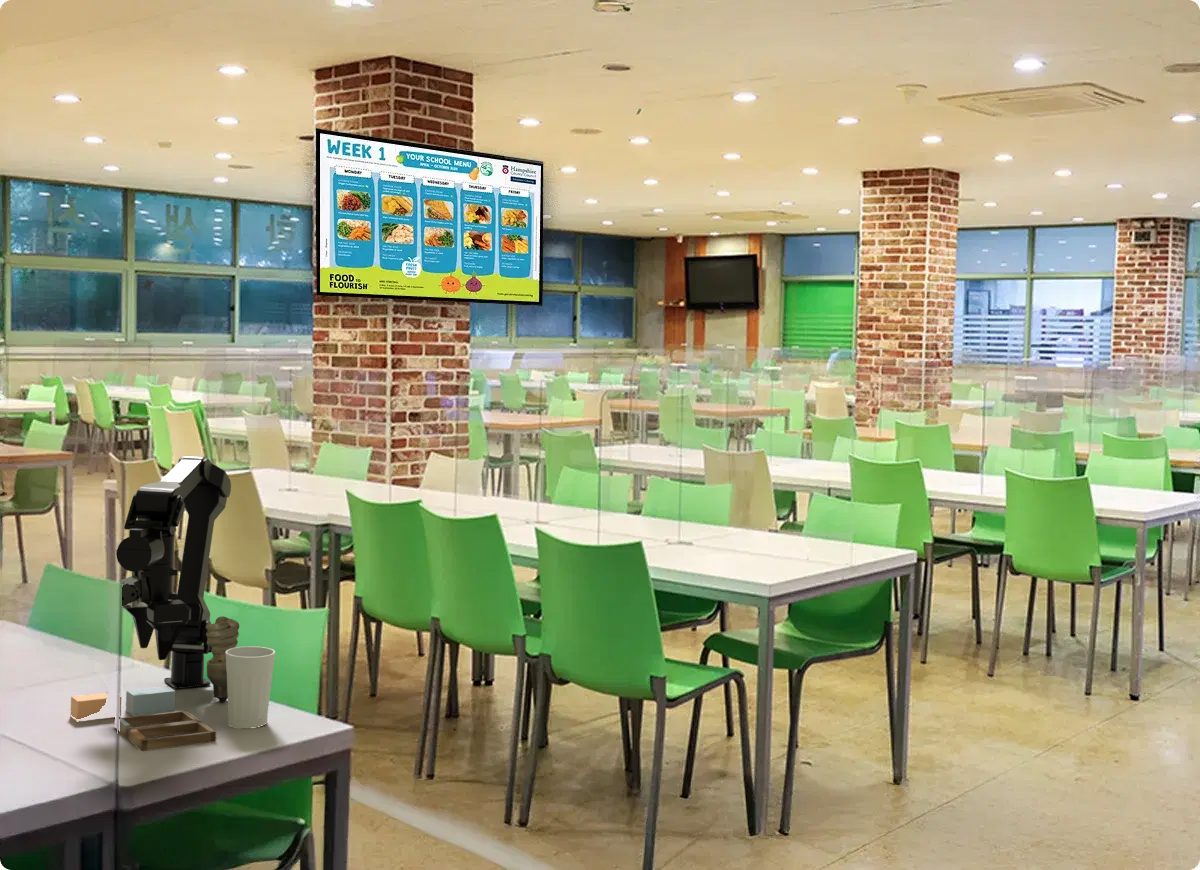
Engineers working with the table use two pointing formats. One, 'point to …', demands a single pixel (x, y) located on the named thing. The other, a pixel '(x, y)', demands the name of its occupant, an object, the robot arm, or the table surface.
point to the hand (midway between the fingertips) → (152, 653)
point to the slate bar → (150, 700)
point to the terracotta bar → (88, 704)
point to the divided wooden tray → (165, 730)
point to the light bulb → (220, 653)
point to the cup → (248, 685)
